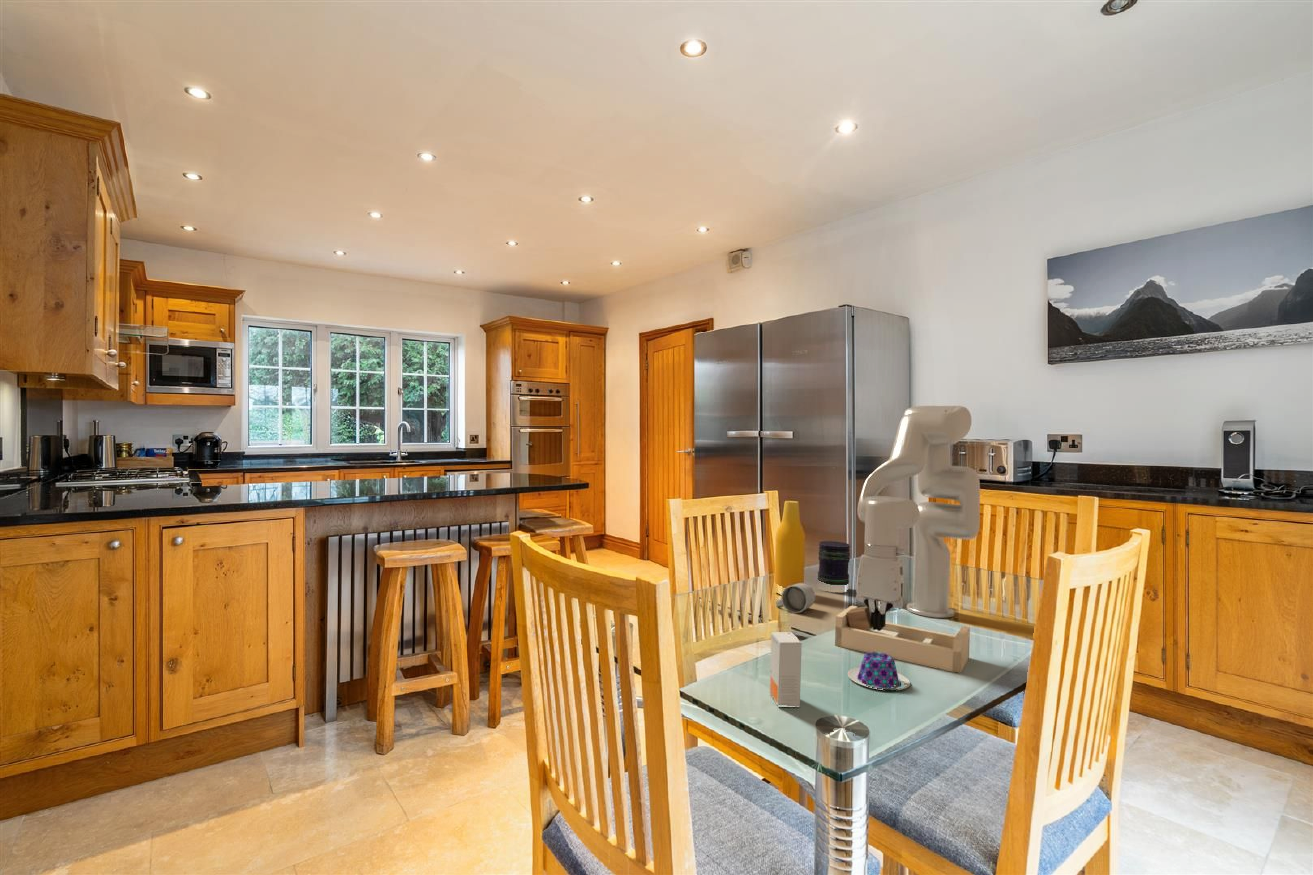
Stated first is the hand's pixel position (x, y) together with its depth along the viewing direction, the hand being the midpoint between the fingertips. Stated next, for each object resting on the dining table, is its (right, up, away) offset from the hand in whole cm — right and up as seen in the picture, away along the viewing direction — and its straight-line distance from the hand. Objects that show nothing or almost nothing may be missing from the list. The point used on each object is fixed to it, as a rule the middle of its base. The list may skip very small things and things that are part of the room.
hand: (877, 628), depth 146 cm
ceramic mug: (-13, -4, +31) cm, 33 cm away
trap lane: (+4, -5, -2) cm, 7 cm away
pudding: (-7, -5, -20) cm, 22 cm away
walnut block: (-3, -1, +2) cm, 3 cm away
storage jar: (+5, -5, +55) cm, 56 cm away
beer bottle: (-11, -4, +48) cm, 50 cm away
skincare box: (-29, -4, -32) cm, 43 cm away
